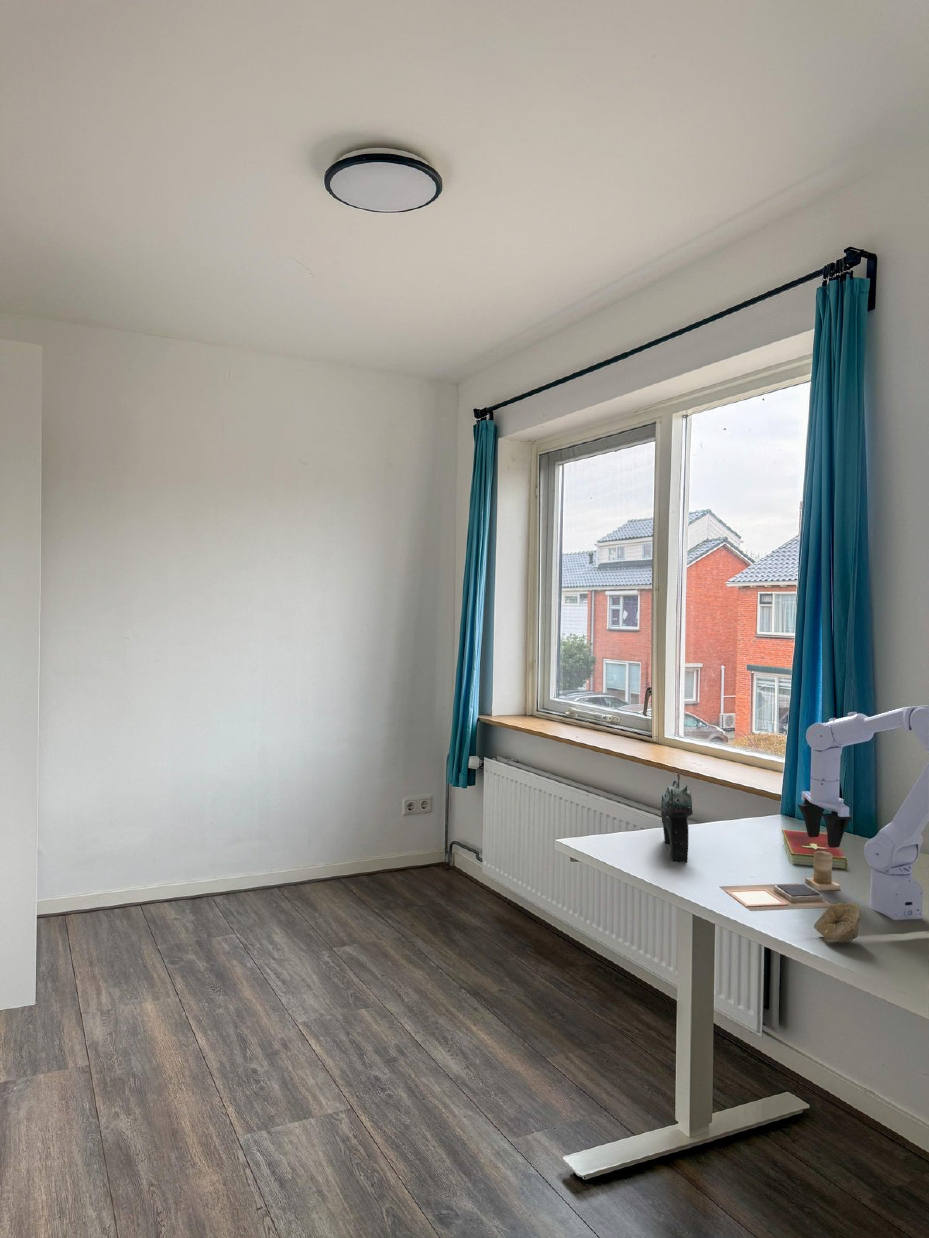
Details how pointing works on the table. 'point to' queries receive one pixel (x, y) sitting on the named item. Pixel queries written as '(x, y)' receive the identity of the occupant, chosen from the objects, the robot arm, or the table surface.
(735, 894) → the square coaster
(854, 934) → the fossil
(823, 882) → the stamp
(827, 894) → the table surface
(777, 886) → the ink pad
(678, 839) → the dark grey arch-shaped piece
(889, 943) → the table surface
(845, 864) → the hardcover book
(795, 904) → the board
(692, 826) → the table surface
